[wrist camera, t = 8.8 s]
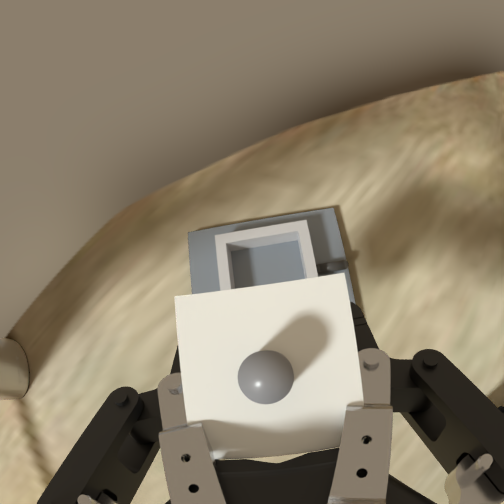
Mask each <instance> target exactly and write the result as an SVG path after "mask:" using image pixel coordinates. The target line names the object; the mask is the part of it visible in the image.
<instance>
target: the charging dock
mask: <svg viewBox="0 0 504 504" xmlns="http://www.w3.org/2000/svg"><path fill="white" fill-rule="evenodd" d="M188 244H189V260H190V274H191V286H192V294H199V293H207V292H215V291H223V290H230V289H238V288H245V287H253V286H260V285H267V284H274V283H281V282H287V281H294V280H301V279H307V278H314V277H320V276H326V275H333V274H339V273H345V279H346V284H347V289H348V295H349V300H350V302H353V303H354V304H355V299H354V294H353V289H352V284H351V279H350V275H349V270H348V262H347V261H346V257H345V252H344V248H343V244H342V240H341V235H340V231H339V227H338V223H337V220H336V216H335V212H334V208H328V209H321V210H315V211H308V212H302V213H296V214H290V215H284V216H278V217H272V218H266V219H260V220H254V221H248V222H243V223H237V224H231V225H226V226H220V227H215V228H209V229H204V230H198V231H193V232H188Z"/></svg>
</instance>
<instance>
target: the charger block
mask: <svg viewBox="0 0 504 504" xmlns="http://www.w3.org/2000/svg"><path fill="white" fill-rule="evenodd" d="M175 310H176V324H177V337H178V348H179V359H180V369H181V378H182V387H183V395H184V403H185V411H186V418H187V425H189V424H193V423H198V422H202V425H203V427H204V430H205V432H206V435H207V437H208V440H209V442H210V445H211V447H212V450H213V455H214V459H243V458H259V457H272V456H282V455H290V454H298V453H306V452H312V451H319V450H325V449H330V448H336V447H340V443H341V437H342V432H343V426H344V419H345V413H346V406H347V405H364V400H363V391H362V382H361V373H360V365H359V358H358V351H357V344H356V337H355V330H354V324H353V318H352V312H351V306H350V300H349V295H348V289H347V284H346V279H345V273H339V274H333V275H326V276H320V277H314V278H307V279H301V280H294V281H287V282H281V283H274V284H267V285H260V286H253V287H245V288H238V289H230V290H223V291H215V292H207V293H199V294H191V295H183V296H175Z"/></svg>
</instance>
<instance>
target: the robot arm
mask: <svg viewBox="0 0 504 504" xmlns="http://www.w3.org/2000/svg"><path fill="white" fill-rule="evenodd" d="M350 306H351V312H352V318H353V324H354V330H355V337H356V344H357V351H358V358H359V365H360V373H361V382H362V391H363V400H364V405H347V406H346V413H345V419H344V426H343V432H342V437H341V443H340V448H334V449H329V450H323V451H317V452H311V453H307V454H304V455H302V456H299V457H296V458H293V459H290V460H288V461H285V462H282V463H268V462H261V461H254V460H248V459H240V460H225V459H214V455H213V450H212V447H211V445H210V442H209V440H208V437H207V435H206V432H205V430H204V427H203V425H202V422H198V423H193V424H189V425H187V418H186V411H185V403H184V395H183V387H182V378H181V369H180V359H179V348H178V346H177V350H176V354H175V358H174V361H173V365H172V369H171V373H170V375H168V376H166V377H165V378H163V379H162V380H161V381H160V383H159V385H158V388H157V389H155V390H152V391H148V392H144V393H141V394H138V393H137V391H136V390H135V389H133V388H131V387H121V388H118V389H116V390H114V391H113V392H112V393H111V394H110V395H109V396H108V398H107V399H106V401H105V402H104V403H103V405H102V406H101V408H100V409H99V411H98V412H97V413H96V415H95V416H94V418H93V419H92V421H91V422H90V424H89V425H88V426H87V428H86V429H85V431H84V432H83V434H82V435H81V437H80V438H79V440H78V441H77V442H76V444H75V445H74V447H73V448H72V450H71V451H70V453H69V454H68V456H67V457H66V459H65V460H64V462H63V463H62V465H61V466H60V468H59V469H58V471H57V472H56V474H55V475H54V477H53V478H52V480H51V482H50V483H49V485H48V486H47V488H46V489H45V491H44V492H43V494H42V495H41V497H40V499H39V500H38V502H37V504H130V503H131V501H132V499H133V497H134V495H135V494H136V492H137V490H138V488H139V486H140V484H141V482H142V481H143V479H144V477H145V475H146V473H147V471H148V469H149V468H150V466H151V464H152V462H153V460H154V458H155V456H156V454H157V453H158V451H159V449H160V448H161V454H162V460H163V465H164V471H165V476H166V481H167V486H168V491H169V495H170V500H169V501H167V502H166V503H165V504H437V503H435V502H433V501H431V500H430V499H428V498H426V497H425V496H423V495H421V494H420V493H418V492H416V491H415V490H413V489H412V488H410V487H408V486H407V485H405V484H404V483H402V482H401V481H399V480H397V479H396V478H394V477H393V476H391V475H390V474H389V466H390V455H391V441H392V422H393V412H400V413H401V414H402V415H403V417H404V418H405V419H406V420H407V422H408V423H409V424H410V426H411V427H412V428H413V429H414V431H415V432H416V433H417V434H418V436H419V437H420V438H421V440H422V441H423V442H424V443H425V445H426V446H427V447H428V449H429V450H430V451H431V452H432V454H433V455H434V456H435V458H436V459H437V460H438V461H439V463H440V464H441V465H442V467H443V468H444V469H445V471H446V472H447V473H448V474H449V475H448V476H447V478H446V480H445V492H446V494H447V496H448V499H449V504H500V503H501V502H502V501H504V414H503V413H502V412H501V411H500V410H499V409H498V408H497V407H496V406H495V405H494V404H493V403H492V402H491V401H490V400H489V399H488V398H487V397H486V396H485V395H484V394H483V393H482V392H481V391H480V390H479V389H478V388H477V387H476V386H475V385H474V384H473V383H472V382H471V381H470V380H469V379H468V378H467V377H466V376H465V375H464V374H463V373H462V372H461V371H460V370H459V369H458V368H457V367H456V366H455V365H454V364H453V363H452V362H451V361H449V360H448V359H447V358H446V357H445V356H444V355H443V354H442V353H441V352H439V351H436V350H433V349H425V350H421V351H419V352H418V353H416V354H415V355H414V357H413V359H412V360H399V359H392V358H389V356H388V355H387V354H386V353H385V352H384V351H382V350H379V348H378V346H377V344H376V341H375V339H374V337H373V335H372V332H371V330H370V328H369V326H368V325H367V322H366V319H365V318H364V315H363V313H362V311H361V309H360V308H359V307H358V306H357V305H356V304H354V303H353V302H350ZM28 384H29V368H28V363H27V359H26V356H25V353H24V351H23V349H22V347H21V346H20V345H19V344H18V343H17V342H16V341H15V340H12V339H7V338H1V337H0V400H12V399H20V398H22V397H23V396H24V395H25V393H26V391H27V388H28Z"/></svg>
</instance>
